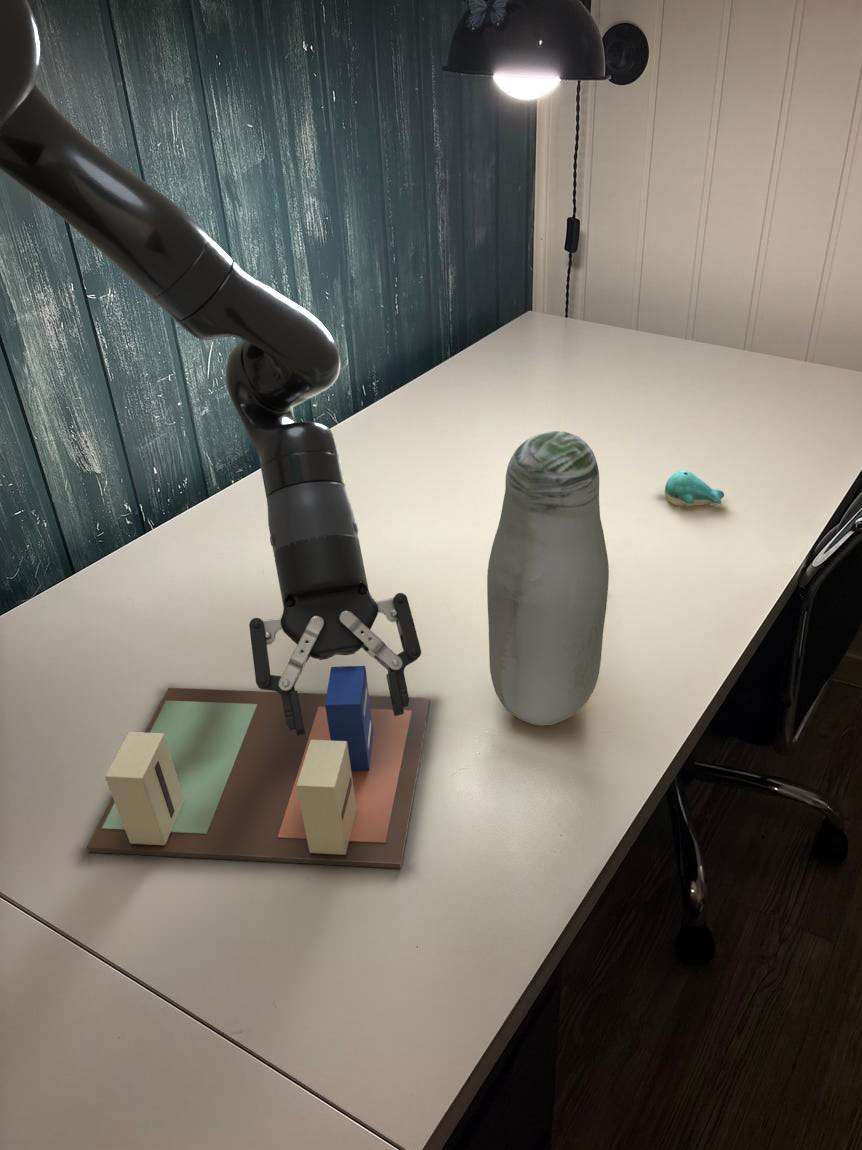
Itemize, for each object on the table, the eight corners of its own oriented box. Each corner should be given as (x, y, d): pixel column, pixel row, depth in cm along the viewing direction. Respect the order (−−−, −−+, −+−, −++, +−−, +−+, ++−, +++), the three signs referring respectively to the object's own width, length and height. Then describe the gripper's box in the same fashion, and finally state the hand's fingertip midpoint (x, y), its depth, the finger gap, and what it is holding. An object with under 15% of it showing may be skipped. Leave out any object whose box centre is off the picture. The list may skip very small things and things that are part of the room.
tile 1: (129, 844, 78) (103, 776, 73) (150, 798, 82) (127, 731, 77) (166, 846, 78) (142, 778, 73) (185, 800, 82) (164, 732, 77)
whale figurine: (671, 485, 124) (674, 459, 122) (726, 496, 122) (731, 470, 120) (658, 506, 120) (661, 480, 118) (715, 518, 118) (719, 491, 115)
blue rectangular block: (334, 771, 84) (324, 704, 79) (340, 732, 88) (330, 666, 83) (369, 770, 84) (361, 703, 79) (373, 731, 88) (365, 665, 83)
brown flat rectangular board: (88, 852, 78) (86, 846, 78) (169, 692, 94) (168, 686, 93) (400, 868, 76) (400, 863, 76) (430, 702, 92) (429, 697, 92)
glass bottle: (570, 757, 86) (586, 482, 68) (472, 720, 90) (464, 452, 72) (613, 693, 93) (637, 428, 75) (519, 662, 97) (522, 403, 79)
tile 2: (308, 853, 77) (295, 785, 72) (321, 806, 81) (309, 739, 76) (346, 855, 77) (335, 787, 72) (357, 808, 80) (347, 740, 76)
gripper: (391, 541, 88) (425, 711, 87) (236, 565, 86) (268, 742, 84) (399, 520, 81) (436, 706, 79) (230, 546, 78) (265, 740, 77)
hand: (350, 724), depth 82 cm, fingers open, 8 cm apart
